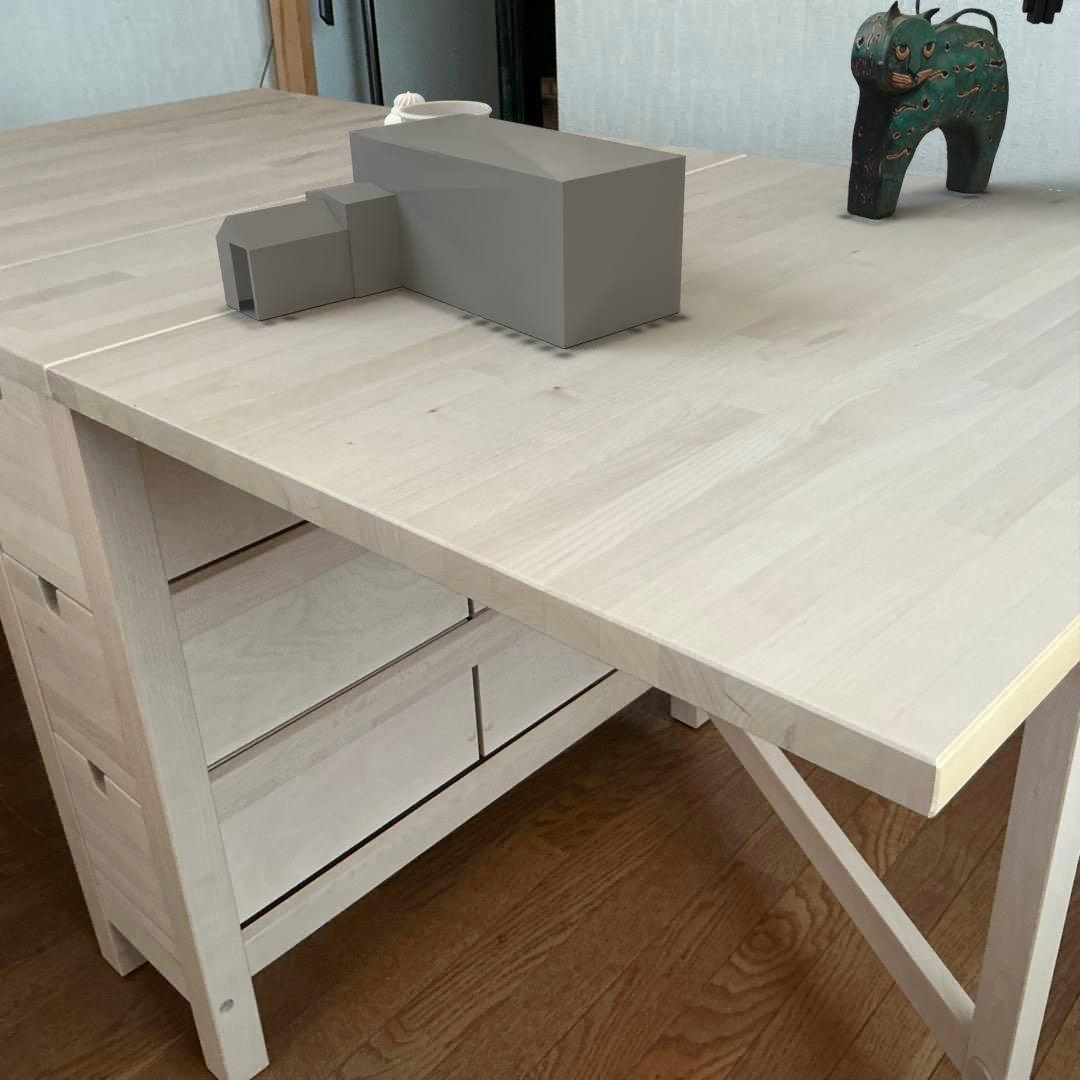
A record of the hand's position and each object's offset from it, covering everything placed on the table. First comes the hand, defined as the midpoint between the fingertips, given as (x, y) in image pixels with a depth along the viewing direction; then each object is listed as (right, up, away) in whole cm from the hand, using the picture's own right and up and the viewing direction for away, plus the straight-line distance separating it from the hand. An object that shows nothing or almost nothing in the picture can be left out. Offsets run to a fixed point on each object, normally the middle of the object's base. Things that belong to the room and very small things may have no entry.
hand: (1039, 22), depth 101 cm
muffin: (-59, -1, +33) cm, 67 cm away
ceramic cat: (-8, -13, +9) cm, 18 cm away
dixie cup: (-52, -16, +6) cm, 55 cm away
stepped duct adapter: (-51, -28, -16) cm, 60 cm away
